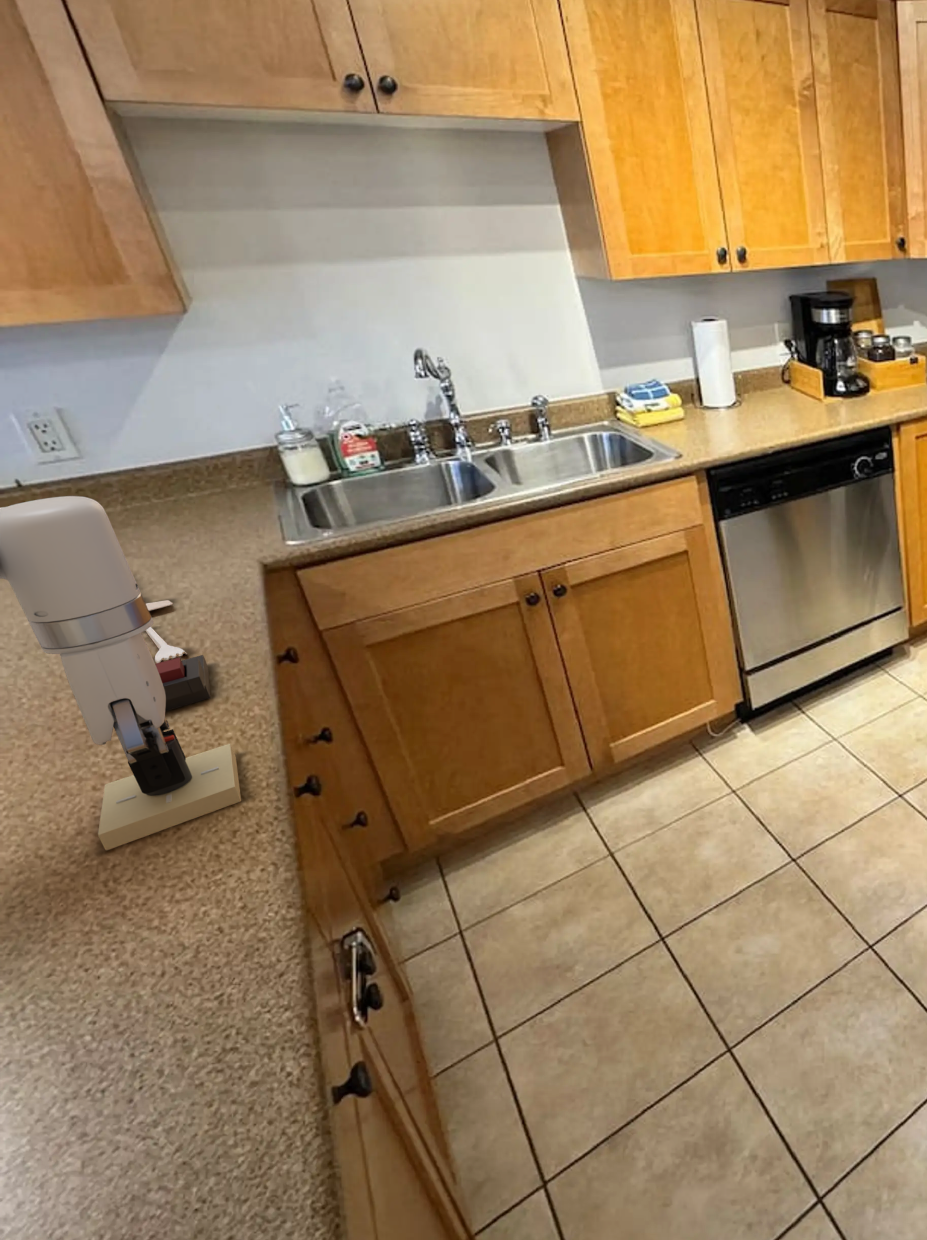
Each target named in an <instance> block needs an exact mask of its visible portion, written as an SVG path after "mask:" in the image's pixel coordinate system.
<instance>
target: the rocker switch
mask: <svg viewBox="0 0 927 1240" xmlns="http://www.w3.org/2000/svg"><path fill="white" fill-rule="evenodd" d="M181 661H182V663H183V666H184V668H185V677H184V678H180V679H176V680H173V681H169V682H165V683H162V684H163V687H164V690H165V695H166V707H165V712H167V711H171V710H175V709H178V708H181V707H184V706H188V705H191V704H195V703H199V702H202V701H205V700H208V699H211V685H210V673H209V672H210V671H209V665H208V663H207V661H206V659H205V656H204V654H200V655H198V656H193V657H189V658H186V659H181Z"/></svg>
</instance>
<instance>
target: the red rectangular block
mask: <svg viewBox="0 0 927 1240" xmlns="http://www.w3.org/2000/svg"><path fill="white" fill-rule="evenodd" d="M155 665H156V667H157V670H158V672H159V675H160V678H161V681H162V683H165V682H169V681H173V680H176V679H180V678H184V677H185V668H184V666H183V663H182V659H181V657H176V658H172V659H169V660H164V661H161V662H160V663H155Z"/></svg>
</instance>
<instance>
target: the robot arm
mask: <svg viewBox="0 0 927 1240" xmlns="http://www.w3.org/2000/svg"><path fill="white" fill-rule="evenodd" d="M118 539H119V538H118V537H117V534H116V532H115V530H114V527H113V525H112V522H111V521H110V519H109V516H108V514H107V512H106V510H105V508H104V507H103V505H101V503H99V502H98V501H97V500H95V499H93V498H90V497H87V496H78V495H67V496H66V495H65V496H54V497H47V498H39V499H35V500H29V501H25V502H19V503H15V504H11V505H9V506H2V507H0V579H3V580H6V581H7V582H8V583H9V586H10V587H11V589H12V591H13V593H14V595H15V598H16V599H17V601H18V603H19V605H20V607H21V609H22V611H23V614H24V615H25V617H26V620H27V622H28V624H29V626H30V627H31V629H32V631H33V634H34V635H35V638H36V640H37V642H38V644H39V645H40V648H41V650H42V652H43V653H45V654H49V655H59V656H60V659H61V665H62V667H63V670H64V673H65V677H66V679H67V682H68V684H69V687H70V690H71V692H72V695H73V697H74V699H75V702H76V704H77V706H78V709H79V711H80V714H81V717H82V718H83V721H84V723H85V726H86V728H87V730H88V733H89V735H90V738H91V740H92V742H93V744H95V745H97V746H105V745H106V744H107V742H111V741H112V737H113V730H114V732H115V734H116V736H117V738H118V740H119V743H120V745H121V747H122V750H123V752H124V754H125V757H126V759H127V764H128V766H129V769H130V770H131V773H132V775H134V777H135V779H136V781H137V783H138V785H139V787H140V789H141V791H142V793H144V794H149V793H152V792H155V791H158V790H160V789H163V788H166V787H169V786H172V785H175V784H178V783H181V782H183V781H184V780H185V774H184V772H183V770H182V768H181V765H180V763H179V761H178V759H177V757H176V754H175V752H174V750H173V748H172V747H170V748H168V747H167V744H166V742H165V739H164V737H163V736H168V735H169V736H171V735H174V737H175V739H176V741H177V743H178V745H179V748H180V750H181V752H182V754H183V756H184V759H185V760H186V758H187V757H186V755H185V752H184V750H183V748H182V746H181V744H180V741H179V739H178V738H177V735H176V733H175V731H174V729H173V728H172V729H171V728H170V723H169V721H168V719H167V717H166V711H165V707H166V695H165V690H164V687H163V684H162V681H161V678H160V675H159V672H158V670H157V667H156V665H155V664H156V662H155V659H153V655H152V653H151V650H150V648H149V647H148V644H147V642H146V640H145V638H144V636H143V632H146V631H145V630H147V629H148V628H149V627H151V628H152V626H153V625H154V620H153V619H154V618H153V617H152V615H151V612H150V611H149V610H148V608H147V606H146V603H147V602H146V601H145V599H144V596H143V594H142V592H141V590H140V588H139V585H138V583H137V580H136V578H135V576H134V574H133V572H132V569H131V566H130V565H129V563H128V560H127V558H126V555H125V553H124V551H123V548H122V546H121V543H120V542H119V540H118ZM152 738H154V739H152Z"/></svg>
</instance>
